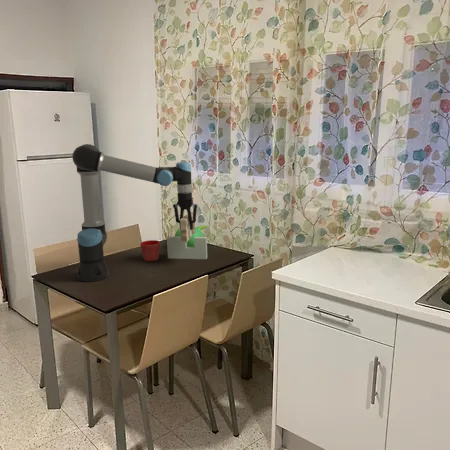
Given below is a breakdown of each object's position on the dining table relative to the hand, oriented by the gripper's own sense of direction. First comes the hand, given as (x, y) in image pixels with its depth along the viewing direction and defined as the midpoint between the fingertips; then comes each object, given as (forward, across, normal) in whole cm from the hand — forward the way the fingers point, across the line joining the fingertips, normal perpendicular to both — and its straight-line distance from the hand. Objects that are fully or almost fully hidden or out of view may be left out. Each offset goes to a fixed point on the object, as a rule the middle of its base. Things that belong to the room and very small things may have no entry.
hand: (186, 235), depth 245 cm
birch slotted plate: (+2, 0, +4) cm, 4 cm away
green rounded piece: (+15, -5, +27) cm, 32 cm away
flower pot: (+15, -22, +4) cm, 27 cm away
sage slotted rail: (+15, -2, +8) cm, 17 cm away
